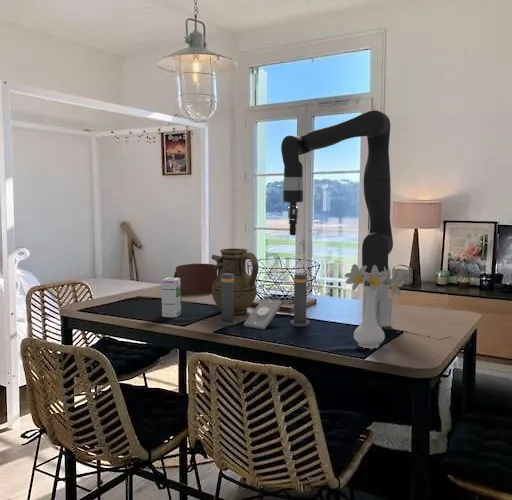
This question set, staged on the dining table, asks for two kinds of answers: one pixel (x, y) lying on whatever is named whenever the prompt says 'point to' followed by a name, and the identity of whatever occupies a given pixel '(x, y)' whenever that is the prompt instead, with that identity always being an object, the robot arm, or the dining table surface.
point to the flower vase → (371, 302)
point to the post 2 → (300, 301)
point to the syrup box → (171, 297)
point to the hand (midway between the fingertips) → (292, 234)
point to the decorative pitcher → (236, 277)
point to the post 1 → (227, 300)
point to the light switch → (263, 314)
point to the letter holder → (196, 277)
